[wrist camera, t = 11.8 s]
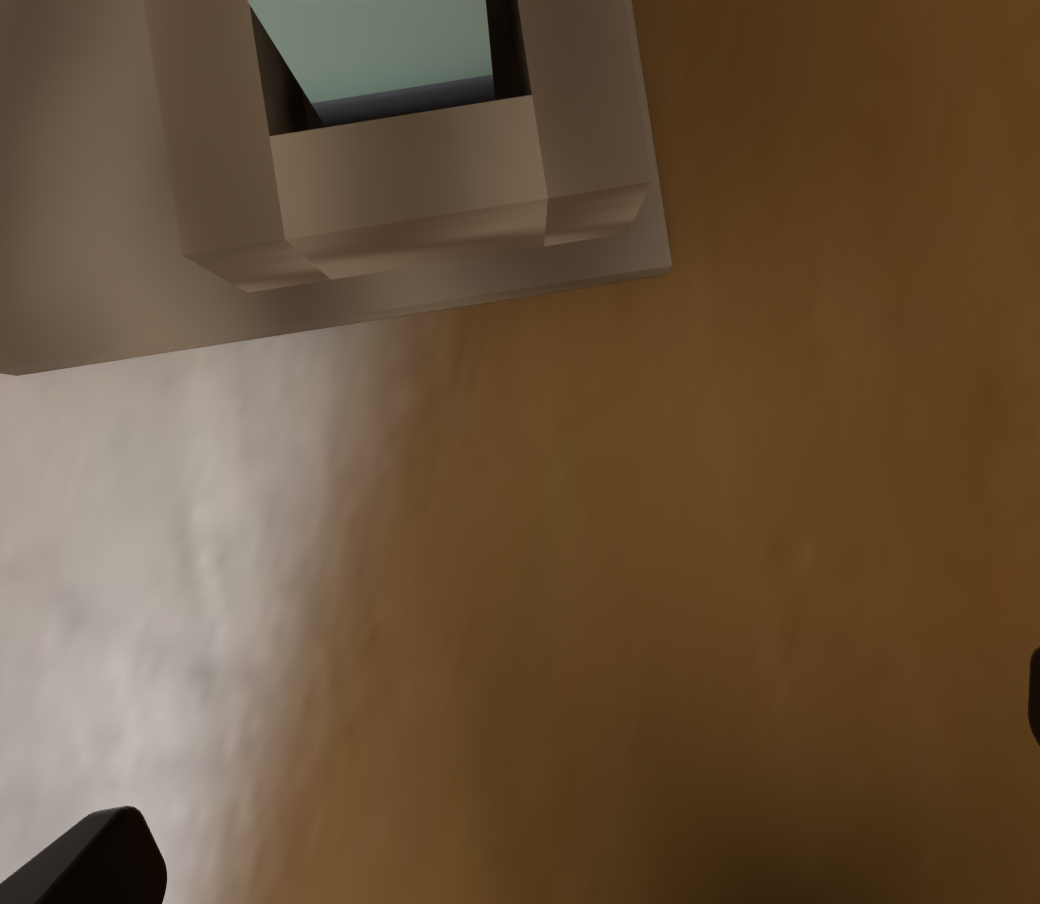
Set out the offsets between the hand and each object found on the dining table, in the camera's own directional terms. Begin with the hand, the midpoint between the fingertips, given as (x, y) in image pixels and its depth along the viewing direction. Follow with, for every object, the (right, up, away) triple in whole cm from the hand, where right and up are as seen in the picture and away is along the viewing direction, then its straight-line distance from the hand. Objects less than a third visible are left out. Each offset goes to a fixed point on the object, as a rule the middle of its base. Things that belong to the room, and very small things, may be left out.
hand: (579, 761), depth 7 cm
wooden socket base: (-6, +12, +12) cm, 19 cm away
